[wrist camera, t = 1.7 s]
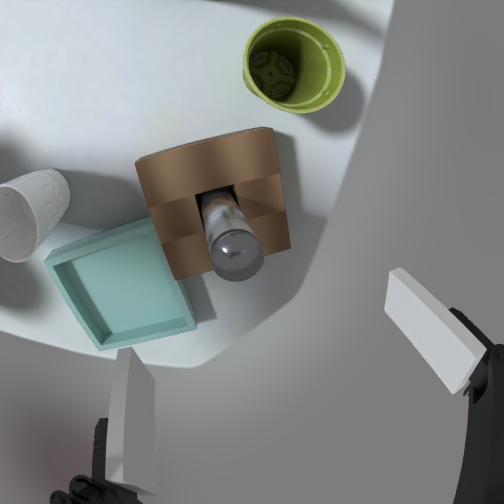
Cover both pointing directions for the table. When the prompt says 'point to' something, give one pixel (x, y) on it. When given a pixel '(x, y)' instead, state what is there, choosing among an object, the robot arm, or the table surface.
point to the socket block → (208, 178)
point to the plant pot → (294, 65)
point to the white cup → (30, 211)
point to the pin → (229, 237)
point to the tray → (122, 286)
